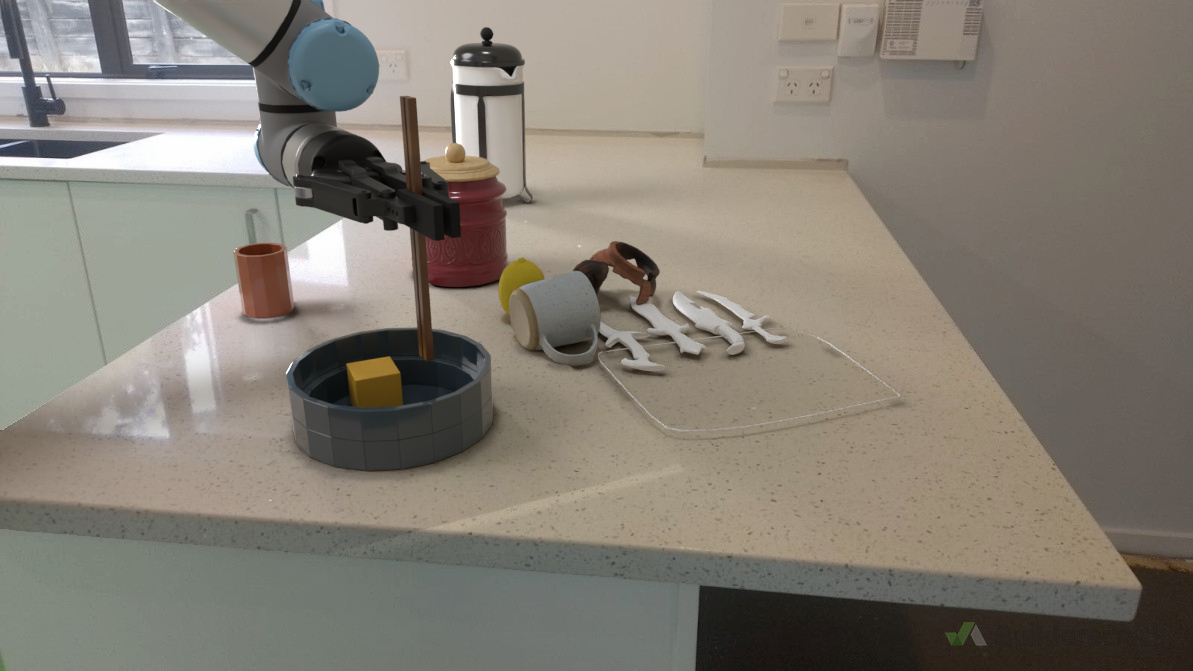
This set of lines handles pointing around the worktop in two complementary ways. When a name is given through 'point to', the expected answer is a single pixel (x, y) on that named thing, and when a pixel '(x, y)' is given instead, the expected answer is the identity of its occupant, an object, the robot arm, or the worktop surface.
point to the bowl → (391, 434)
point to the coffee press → (491, 108)
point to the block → (374, 383)
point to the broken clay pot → (622, 268)
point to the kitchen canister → (470, 223)
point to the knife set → (704, 321)
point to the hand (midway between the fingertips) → (447, 221)
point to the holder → (264, 280)
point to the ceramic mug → (556, 316)
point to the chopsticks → (417, 238)
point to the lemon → (517, 279)
